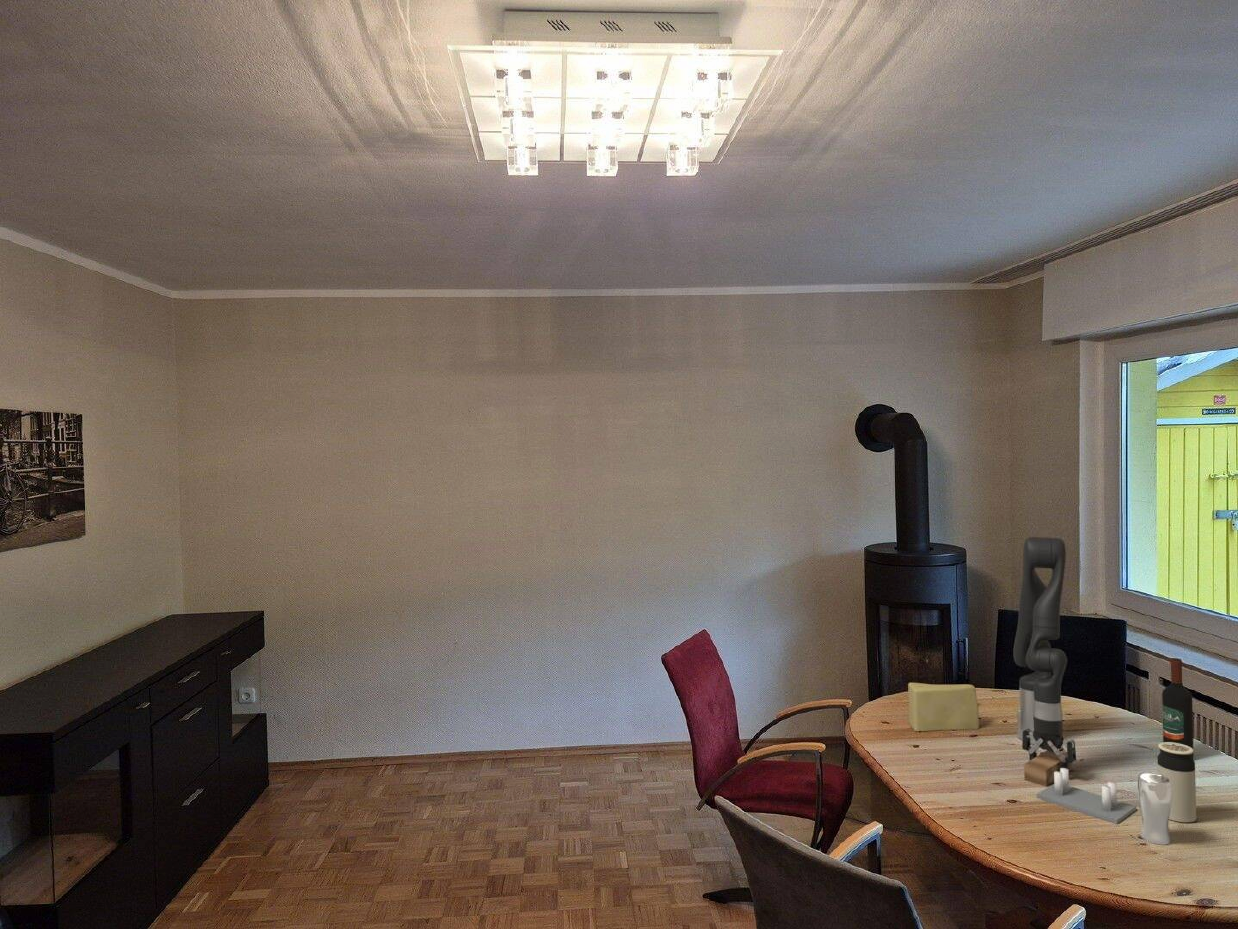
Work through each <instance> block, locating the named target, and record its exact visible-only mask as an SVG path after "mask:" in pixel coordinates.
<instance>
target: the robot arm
mask: <svg viewBox="0 0 1238 929" xmlns="http://www.w3.org/2000/svg"><path fill="white" fill-rule="evenodd" d="M1022 549H1023V550H1022V581H1021V588H1020V589H1021V590H1020V596H1019V604H1018V618H1017V619H1018V620H1017V627H1016V628H1017V629H1016V632H1015V633H1016V634H1015V639H1014V641H1013V642H1014V645H1013V652H1012V654H1013V655H1012V656H1013V660H1014V663H1015V665H1017V666H1019V667H1022V668H1028V669H1030V670H1031V671H1034V672H1032V673H1030V674H1026V675H1023V676H1021V677H1020V678H1019V680H1018V681H1019V682H1018V683H1019V708H1018V709H1017V714H1016V715H1017V739H1018V740H1021V742H1022V750H1024V751H1027V752H1028V754H1029V756H1028V757H1029V758H1028V759H1029V761H1030V760H1032V759H1034V758H1035V757H1037V756H1038V753H1037V751H1038V750H1039V749H1041V750H1044V751H1047V750H1048V751H1051V752H1055V754H1056V755H1057V756H1058V757H1059V758H1060V760H1061V761H1062V763H1061V768H1066V769H1068V770H1069V763H1075V762H1076V761H1077V752H1076V742H1075V740H1073V739H1071V740H1068V739H1065V738H1064V737H1063V735H1064V730H1063V726H1064V725H1063V724H1064V723H1063V716H1064V714H1063V707H1062V694H1061V693H1062V690H1061V689H1062V681H1063V677H1064V675H1065V674H1064V673H1065V672H1066V668H1067V663H1068V657H1067V655H1066V653H1065V652H1064V651H1063V650H1062V649H1059V648H1052V646H1051V644H1050V642H1049V641H1054V640H1058V639H1059V638H1060V637H1061V636H1060V634H1061V631H1060V630H1061V629H1060V628H1061V626H1060V625H1061V624H1060V623H1061V600H1062V595H1063V586H1064V579H1065V571H1066V570H1065V569H1066V568H1065V567H1066V560H1067V559H1066V557H1067V552H1066V551H1067V549H1066V544H1065V541H1064V539H1062V538H1058V537H1045V536H1044V537H1043V536H1029V537H1027V538H1026V539H1025V540H1024V544H1023V548H1022ZM1036 568H1037V569H1050V570H1052V572H1051V573H1052V574H1051V578H1050V580H1049V583H1048V584H1047V586H1046V584H1045V583H1044V582H1043V581H1042V579H1041V578H1040V576H1039V574H1038V573H1037V570H1036ZM1031 744H1032V746H1031ZM1063 745H1064V746H1065V748H1066V749H1065V748H1064V747H1063ZM1059 750H1060V751H1059ZM1066 750H1067V751H1066ZM1066 752H1067V753H1068V756H1067V754H1066ZM1029 761H1028V762H1029Z"/></svg>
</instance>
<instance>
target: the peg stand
mask: <svg viewBox="0 0 1238 929" xmlns="http://www.w3.org/2000/svg"><path fill="white" fill-rule="evenodd" d="M1069 772H1070V771H1069V770H1068V769H1066V768H1060V772H1058V771H1055V772H1054V782H1053V783H1052V784H1050V785H1048V786H1047V787H1045V788H1044V789H1043V790H1041V791H1039V792H1037V793H1036V798H1037V799H1039V800H1042V801H1045V802H1049V803H1051V804H1054V805H1058V806H1061V807H1064V808H1066V809H1070V810H1072V811H1075V812H1079V813H1082V814H1085V815H1088V816H1091V817H1094V818H1097V819H1101V820H1103V821H1106V822H1110V823H1112V824H1115V825H1118V824H1119V823H1120V822H1121V821H1123V820H1125V819H1126V818H1127V817H1129V816H1130V815H1131V814H1133V813H1135V811H1136V810H1137V805H1134V804H1130V803H1128V802H1127V803H1126V802H1124V801H1120V800H1118V798H1117V796H1118V795H1117V794H1118V792H1117V789H1118V788H1117V782H1114V781H1107V785H1101V795H1100V794H1097V793H1095V792H1090V791H1087V790H1084V789H1081V788H1078V787H1074V786H1071V785H1069V784H1070V777H1069V775H1070V774H1069Z"/></svg>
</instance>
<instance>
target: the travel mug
mask: <svg viewBox="0 0 1238 929" xmlns="http://www.w3.org/2000/svg"><path fill="white" fill-rule="evenodd" d="M1157 747H1158V748H1159V753H1158V755H1157V758H1156V759H1157V765H1156V766H1157V774H1159V775H1163V776H1165V777H1167V778H1169V779H1170V781H1171V782H1170V783H1171V791H1172V807H1171V813H1170V818H1169V821H1170V820H1171V821H1173V822H1177V823H1193V822H1195V821H1196V820H1197V793H1196V792H1197V789H1196V787H1197V785H1196V783H1197V782H1196V762H1195V760H1193V758H1192V753H1193V752H1194V748H1193V749H1192V748H1191V747H1189V746H1186V745H1183V744H1179V743H1173V742H1163V741H1162V742H1159V743H1158V745H1157ZM1194 753H1195V752H1194Z"/></svg>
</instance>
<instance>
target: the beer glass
mask: <svg viewBox="0 0 1238 929" xmlns="http://www.w3.org/2000/svg"><path fill="white" fill-rule="evenodd" d="M1137 777H1138V779H1137V802H1138V806H1139V810H1140V814H1141V820H1142V821H1141V822H1142V825H1141V830H1140V837H1141V838H1142V839H1143V840H1145V841H1147V842H1148V843H1151V844H1154V845H1161V846H1166V845H1169V844H1171V842H1172V841H1171V836H1170V835H1171V834H1170V831H1169V824H1170V819H1169V818H1170V813H1171V807H1172V791H1171V783H1170V782H1171V781H1170V779H1169V778H1167V777H1165V776H1163V775H1159V774H1158V773H1153V772H1141V773H1139V774H1138V775H1137Z"/></svg>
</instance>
